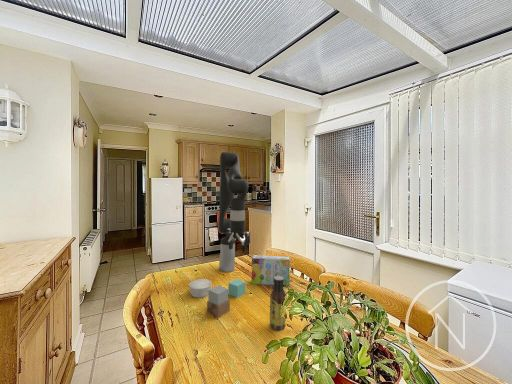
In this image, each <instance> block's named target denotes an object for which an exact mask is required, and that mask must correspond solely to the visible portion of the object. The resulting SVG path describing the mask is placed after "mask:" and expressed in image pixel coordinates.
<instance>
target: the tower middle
mask: <svg viewBox="0 0 512 384" xmlns="http://www.w3.org/2000/svg"><path fill="white" fill-rule="evenodd" d="M228 290H229V288H227V287H223V286H222V285H219V284H218V285H216V286H214V287H212V288H211V289H210V290H208V295H207V297H208V300H207V301H209V302H211V303H213V304H215V305H217V306H219V305H220V304H222V303H224V302H226V301H227V300H228V299H229V294H228Z"/></svg>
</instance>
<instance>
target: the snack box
mask: <svg viewBox="0 0 512 384" xmlns="http://www.w3.org/2000/svg"><path fill="white" fill-rule="evenodd" d="M290 269H291V258H290V256H277V255H275V256H273V255H254V254H253V255H252V257H251V284H252V285H265V286H267V285H268V286H274V281H273V279H274V277H275V276H282V277H283V278H284V282H283V285H284V286H283V287H290V276H291V274H290V272H291V271H290Z"/></svg>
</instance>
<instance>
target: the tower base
mask: <svg viewBox="0 0 512 384" xmlns="http://www.w3.org/2000/svg"><path fill="white" fill-rule="evenodd" d="M230 305H231V301H230V299H229V298H228V300H227V301H226V302H224V303H222V304H220V305H219V306H217V305H215V304H213V303H211V302H209V301H208V300H207V301H206V313H208V314H210V315H212V316H214V317H215V318H217V319H219V318H221V317H222V316H223V315H225V314H227V313H228V312H231V309H230V308H231V306H230Z"/></svg>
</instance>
